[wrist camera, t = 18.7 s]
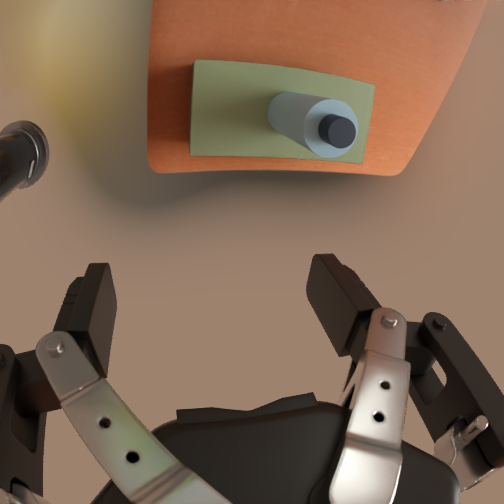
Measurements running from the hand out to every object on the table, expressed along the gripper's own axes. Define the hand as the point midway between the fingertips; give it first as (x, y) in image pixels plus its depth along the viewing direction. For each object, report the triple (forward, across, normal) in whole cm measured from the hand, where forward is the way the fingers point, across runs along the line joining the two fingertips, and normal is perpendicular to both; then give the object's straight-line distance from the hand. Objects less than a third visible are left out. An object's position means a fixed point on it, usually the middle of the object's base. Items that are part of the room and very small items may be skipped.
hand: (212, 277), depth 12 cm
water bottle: (+28, -12, -4) cm, 30 cm away
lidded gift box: (+36, -12, -4) cm, 38 cm away
